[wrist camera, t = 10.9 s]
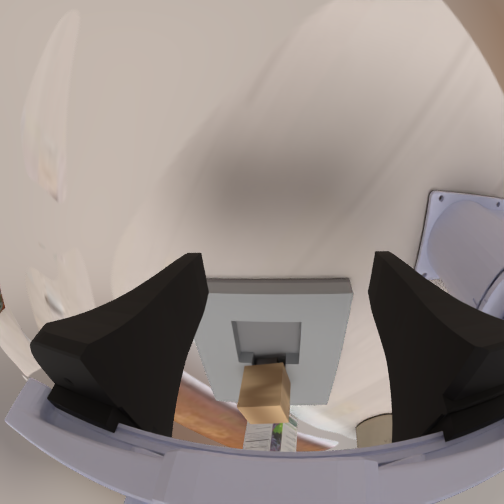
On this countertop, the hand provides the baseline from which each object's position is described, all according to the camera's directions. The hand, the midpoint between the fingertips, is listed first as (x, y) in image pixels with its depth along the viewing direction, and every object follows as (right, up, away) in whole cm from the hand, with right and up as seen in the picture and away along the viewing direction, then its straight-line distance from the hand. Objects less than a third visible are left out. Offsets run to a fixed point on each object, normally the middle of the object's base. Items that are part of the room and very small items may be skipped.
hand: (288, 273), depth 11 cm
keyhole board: (0, -9, +16) cm, 19 cm away
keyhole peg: (0, -11, +17) cm, 20 cm away
